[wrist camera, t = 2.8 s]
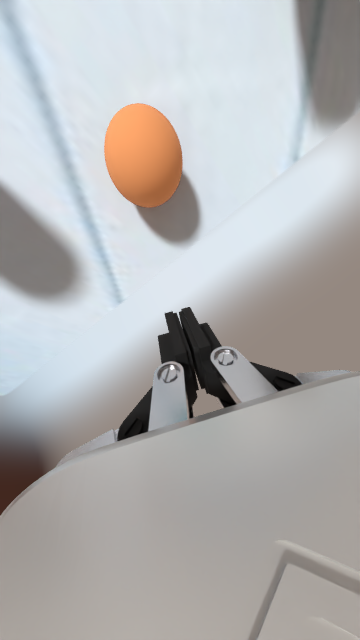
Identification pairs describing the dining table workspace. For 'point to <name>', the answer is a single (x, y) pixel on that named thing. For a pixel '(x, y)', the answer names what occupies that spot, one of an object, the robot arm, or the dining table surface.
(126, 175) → the ball
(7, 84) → the dining table surface
